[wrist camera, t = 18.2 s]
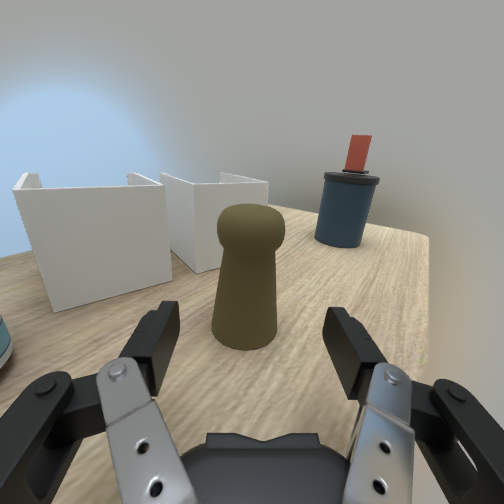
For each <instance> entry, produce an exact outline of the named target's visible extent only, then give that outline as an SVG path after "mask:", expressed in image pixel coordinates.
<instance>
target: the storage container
mask: <svg viewBox="0 0 504 504" xmlns="http://www.w3.org/2000/svg"><path fill="white" fill-rule="evenodd" d="M159 174H160V183H158V182H156V181H153V180H151V179H149V178H147V177H144V176H142V175H140V174H138V173H127V178H128V185H129V186H105V187H72V188H42V185H41V182H40V178H39V175H38V173H23V175H22V176H21V178H20V179H19V181H18V182H17V184H16V185H15V187H14V188H13V190H12V191H13V194H14V197H15V200H16V203H17V206H18V209H19V212H20V215H21V218H22V221H23V224H24V226H25V229H26V232H27V235H28V238H29V241H30V244H31V247H32V250H33V253H34V256H35V259H36V262H37V265H38V268H39V271H40V274H41V277H42V279H43V282H44V285H45V288H46V291H47V294H48V297H49V300H50V303H51V306H52V309H53V312H54V313H56V312H59V311H63V310H67V309H70V308H74V307H78V306H81V305H85V304H88V303H92V302H96V301H99V300H103V299H107V298H110V297H114V296H118V295H121V294H125V293H129V292H132V291H136V290H139V289H143V288H147V287H150V286H154V285H158V284H161V283H165V282H169V281H172V280H173V279H172V266H171V254H170V250H172V251H173V252H174V253H175V254H176V255H177V256H178V257H179V258H180V259H181V260H182V261H183V262H184V263H185V264H186V265H187V266H189V267H190V268H191V269H192V270H193V271H194V272H195V273H196V274H198V273H201V272H205V271H209V270H212V269H216V268H220V267H221V262H222V256H223V249H224V248H223V247H222V245H221V244H220V243H219V239H218V235H217V221H218V217H219V216H220V214H221V212H222V211H223V210H224V209H225V208H227V207H229V206H232V205H237V204H259V205H264V206H267V200H268V189H269V182H265V181H261V180H256V179H252V178H247V177H242V176H237V175H233V174H228V173H220V183H211V184H210V183H209V184H194V183H191V182H188V181H185V180H182V179H179V178H176V177H173V176H170V175H168V173H159Z"/></svg>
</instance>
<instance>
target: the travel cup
mask: <svg viewBox="0 0 504 504" xmlns="http://www.w3.org/2000/svg"><path fill="white" fill-rule="evenodd" d="M324 179H325V183H324V189H323V194H322V200H321V206H320V210H319V216H318V221H317V226H316V232H315V238H316V239H317V240H318V241H320V242H322V243H324V244H327V245H330V246H335V247H341V248H354V247H357V246H359V245H360V242H361V238H362V235H363V231H364V227H365V224H366V220H367V216H368V213H369V209H370V205H371V202H372V198H373V194H374V191H375V187H376V185H378V183H379V179H380V178H379V177H374V176H368V175H359V174H350V173H335V172H326V173H325V174H324Z"/></svg>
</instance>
